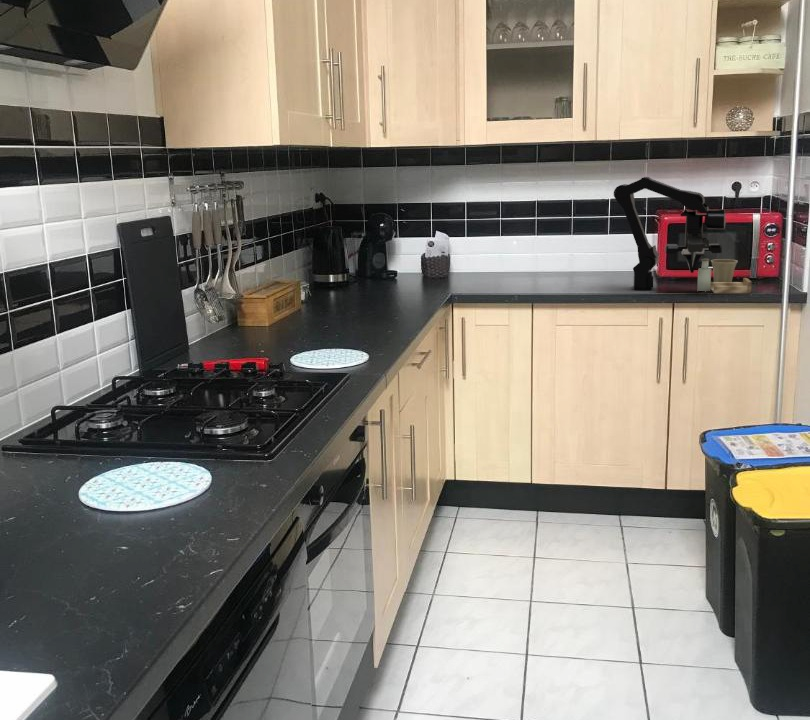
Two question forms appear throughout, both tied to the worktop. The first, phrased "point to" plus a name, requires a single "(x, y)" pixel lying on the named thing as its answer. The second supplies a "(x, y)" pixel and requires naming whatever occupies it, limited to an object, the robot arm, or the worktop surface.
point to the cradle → (732, 287)
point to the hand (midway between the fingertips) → (691, 272)
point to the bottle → (704, 276)
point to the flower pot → (723, 269)
